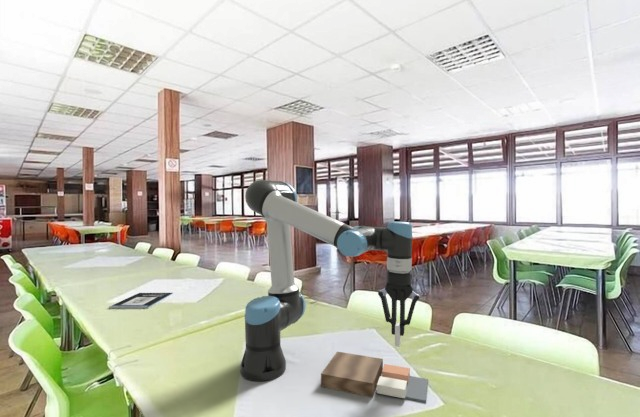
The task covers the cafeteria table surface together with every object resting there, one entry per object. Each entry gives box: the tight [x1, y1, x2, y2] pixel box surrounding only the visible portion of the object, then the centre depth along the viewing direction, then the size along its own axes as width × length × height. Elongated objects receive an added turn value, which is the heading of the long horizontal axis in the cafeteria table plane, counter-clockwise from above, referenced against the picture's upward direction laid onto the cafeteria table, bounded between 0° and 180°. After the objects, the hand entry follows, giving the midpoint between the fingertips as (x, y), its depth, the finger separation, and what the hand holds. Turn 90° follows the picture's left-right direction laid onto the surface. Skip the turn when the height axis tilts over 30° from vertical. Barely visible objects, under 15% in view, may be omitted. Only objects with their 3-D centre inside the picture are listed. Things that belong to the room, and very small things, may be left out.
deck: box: [320, 351, 384, 398], centre depth 105 cm, size 16×16×4 cm
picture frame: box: [108, 292, 174, 310], centre depth 193 cm, size 22×30×2 cm
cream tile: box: [376, 375, 407, 399], centre depth 97 cm, size 8×5×2 cm, turn 69°
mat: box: [375, 375, 429, 403], centre depth 100 cm, size 14×12×1 cm
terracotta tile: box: [381, 363, 411, 384], centre depth 104 cm, size 8×5×2 cm, turn 69°
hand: (397, 344), depth 104 cm, fingers closed
